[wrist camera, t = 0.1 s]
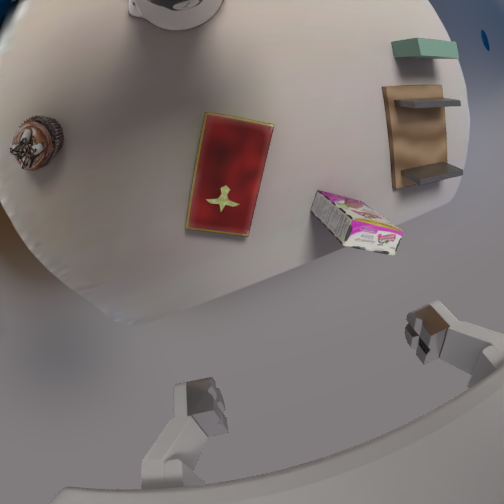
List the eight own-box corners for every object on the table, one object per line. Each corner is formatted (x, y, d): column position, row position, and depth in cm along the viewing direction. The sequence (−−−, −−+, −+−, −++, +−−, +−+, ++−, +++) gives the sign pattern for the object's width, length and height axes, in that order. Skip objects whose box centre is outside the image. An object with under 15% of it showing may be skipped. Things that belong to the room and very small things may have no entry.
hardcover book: (270, 123, 53) (276, 125, 49) (246, 228, 62) (250, 237, 58) (204, 111, 50) (205, 111, 46) (185, 220, 59) (185, 229, 55)
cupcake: (76, 130, 46) (54, 137, 38) (51, 172, 49) (27, 186, 40) (43, 103, 42) (17, 106, 33) (19, 145, 44) (-8, 156, 36)
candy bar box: (362, 199, 62) (405, 231, 48) (354, 221, 64) (395, 257, 50) (316, 187, 60) (353, 218, 45) (308, 211, 62) (342, 248, 47)
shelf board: (382, 86, 51) (386, 86, 50) (437, 84, 52) (441, 85, 51) (392, 186, 62) (396, 188, 61) (443, 175, 63) (447, 176, 61)
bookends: (393, 99, 51) (414, 102, 45) (438, 97, 52) (460, 100, 46) (401, 175, 59) (420, 185, 53) (443, 166, 60) (462, 175, 54)
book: (391, 41, 47) (417, 37, 39) (429, 44, 47) (456, 42, 39) (394, 57, 49) (421, 55, 41) (432, 58, 49) (459, 58, 41)
